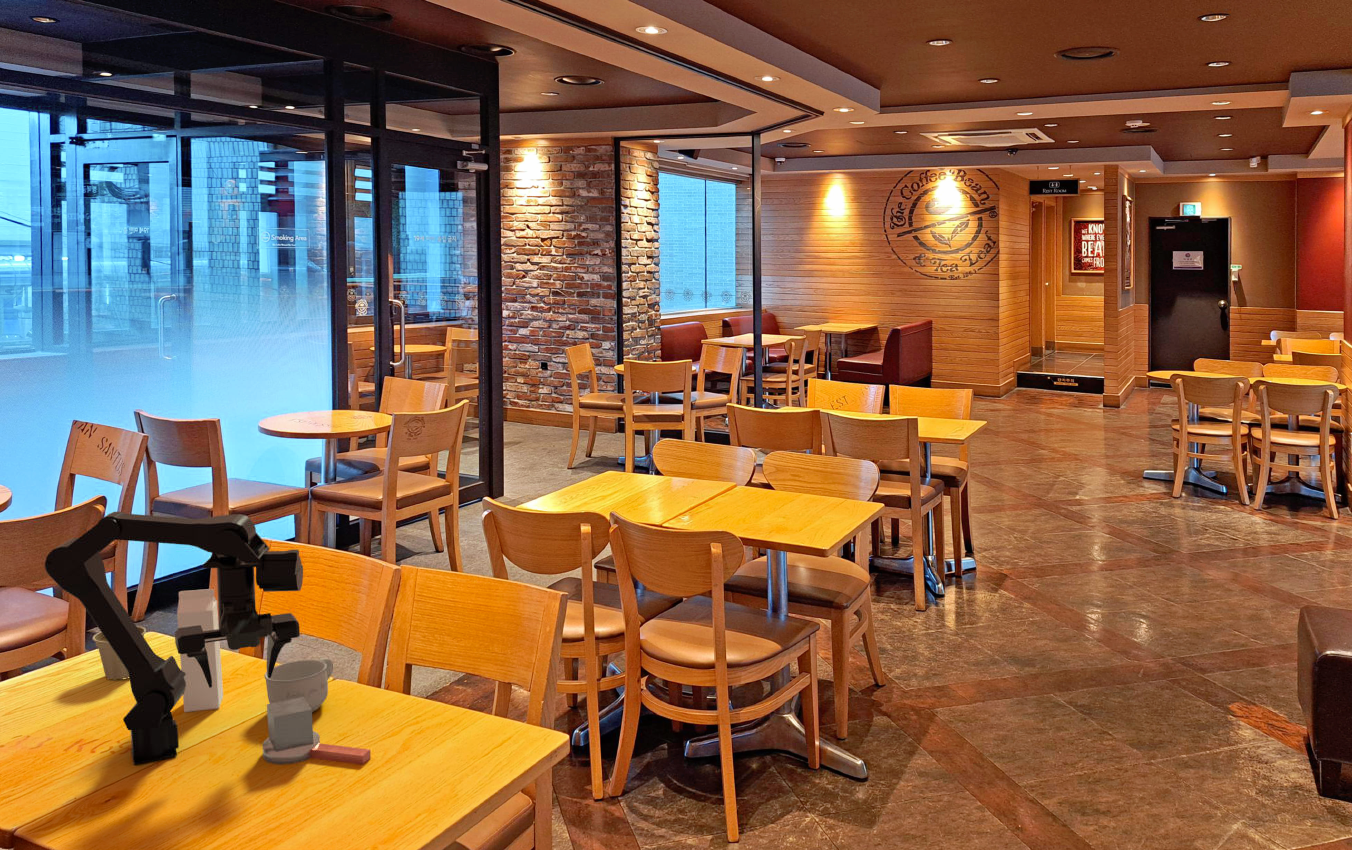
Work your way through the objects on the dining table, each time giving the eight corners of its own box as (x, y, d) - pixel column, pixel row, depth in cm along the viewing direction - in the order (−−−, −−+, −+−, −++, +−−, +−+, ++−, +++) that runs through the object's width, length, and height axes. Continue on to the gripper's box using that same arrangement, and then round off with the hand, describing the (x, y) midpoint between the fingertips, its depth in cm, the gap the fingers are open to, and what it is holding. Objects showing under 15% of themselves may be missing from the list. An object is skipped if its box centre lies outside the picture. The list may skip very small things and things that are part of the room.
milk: (219, 708, 197) (211, 593, 194) (183, 712, 196) (175, 596, 192) (223, 696, 203) (216, 583, 200) (188, 699, 202) (181, 586, 198)
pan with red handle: (251, 760, 177) (250, 732, 176) (284, 737, 185) (282, 710, 184) (352, 773, 172) (350, 744, 171) (380, 749, 181) (379, 721, 180)
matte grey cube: (275, 751, 175) (273, 717, 174) (268, 738, 180) (266, 704, 180) (313, 743, 178) (311, 709, 177) (305, 730, 183) (303, 696, 183)
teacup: (289, 727, 189) (286, 684, 188) (254, 712, 196) (252, 670, 195) (355, 701, 200) (353, 661, 199) (320, 688, 207) (318, 648, 206)
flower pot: (85, 682, 210) (81, 640, 209) (117, 665, 219) (114, 624, 218) (128, 685, 208) (124, 642, 207) (159, 667, 218) (156, 626, 216)
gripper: (179, 613, 166) (184, 709, 168) (304, 597, 175) (307, 688, 177) (172, 594, 175) (177, 685, 177) (291, 580, 185) (294, 666, 187)
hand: (240, 681), depth 179 cm, fingers open, 9 cm apart
